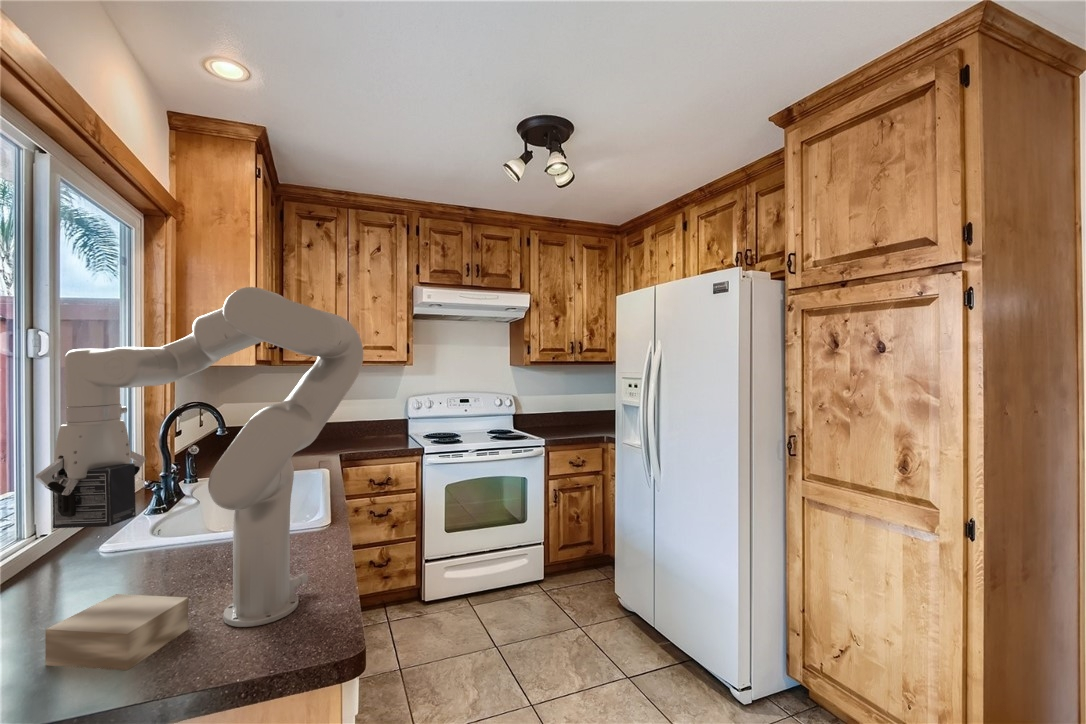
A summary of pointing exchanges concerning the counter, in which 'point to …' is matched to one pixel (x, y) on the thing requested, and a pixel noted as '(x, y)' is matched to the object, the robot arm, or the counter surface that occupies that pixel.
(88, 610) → the birch block
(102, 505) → the small box
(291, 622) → the counter surface
